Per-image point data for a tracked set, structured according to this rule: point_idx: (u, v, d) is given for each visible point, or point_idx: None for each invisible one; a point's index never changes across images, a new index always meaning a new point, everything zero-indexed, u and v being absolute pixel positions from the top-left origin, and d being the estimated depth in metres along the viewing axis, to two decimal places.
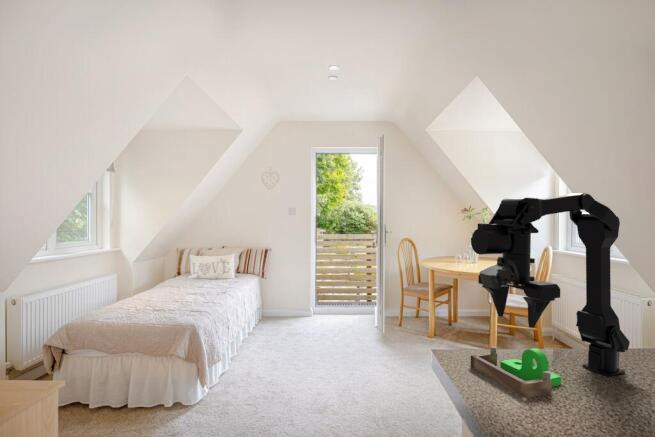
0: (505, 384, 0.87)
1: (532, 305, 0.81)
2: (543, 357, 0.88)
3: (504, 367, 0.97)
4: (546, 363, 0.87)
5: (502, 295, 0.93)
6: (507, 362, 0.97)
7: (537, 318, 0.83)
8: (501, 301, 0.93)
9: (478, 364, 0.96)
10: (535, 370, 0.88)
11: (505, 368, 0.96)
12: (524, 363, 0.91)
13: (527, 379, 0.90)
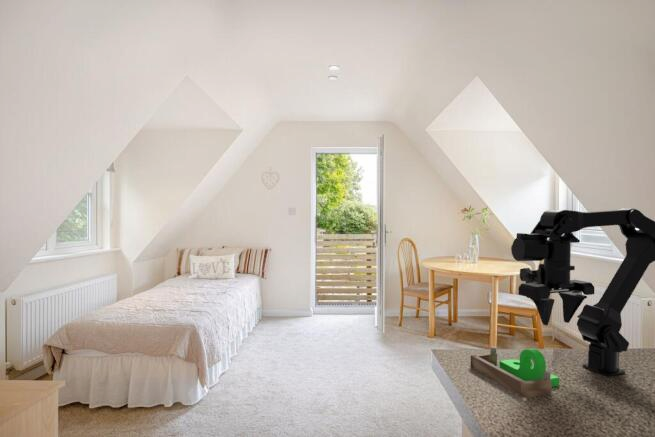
0: (505, 384, 0.87)
1: None
2: (540, 357, 0.88)
3: (503, 367, 0.97)
4: (543, 363, 0.87)
5: (570, 303, 0.96)
6: (506, 362, 0.97)
7: (545, 317, 0.94)
8: (567, 308, 0.97)
9: (478, 364, 0.96)
10: (532, 370, 0.88)
11: (504, 368, 0.97)
12: (522, 363, 0.91)
13: (525, 379, 0.90)
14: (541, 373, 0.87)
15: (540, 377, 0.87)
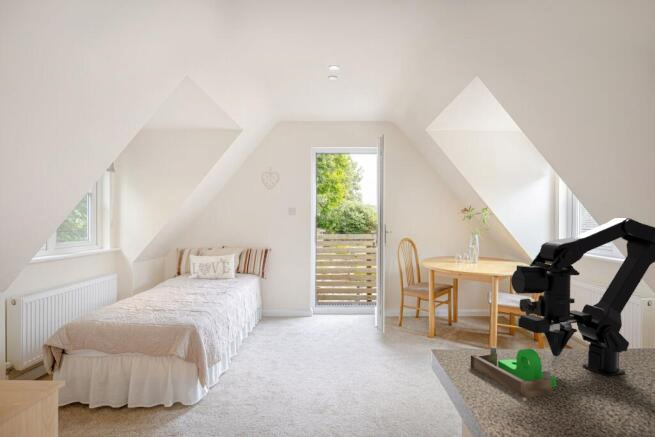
0: (505, 384, 0.87)
1: None
2: (536, 357, 0.87)
3: (501, 366, 0.97)
4: (539, 364, 0.87)
5: None
6: (505, 362, 0.97)
7: (555, 348, 0.95)
8: None
9: (478, 364, 0.96)
10: (528, 370, 0.88)
11: (502, 368, 0.97)
12: (518, 363, 0.91)
13: None
14: (536, 373, 0.87)
15: (535, 377, 0.87)
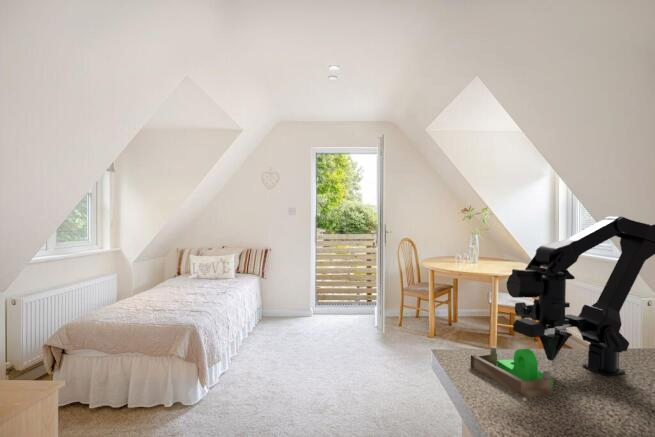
0: (505, 384, 0.87)
1: None
2: (532, 357, 0.87)
3: (500, 366, 0.97)
4: (535, 364, 0.87)
5: None
6: (503, 362, 0.97)
7: (550, 352, 0.95)
8: None
9: (478, 364, 0.96)
10: (524, 370, 0.88)
11: (501, 367, 0.97)
12: (515, 363, 0.91)
13: None
14: (532, 373, 0.87)
15: (531, 377, 0.87)
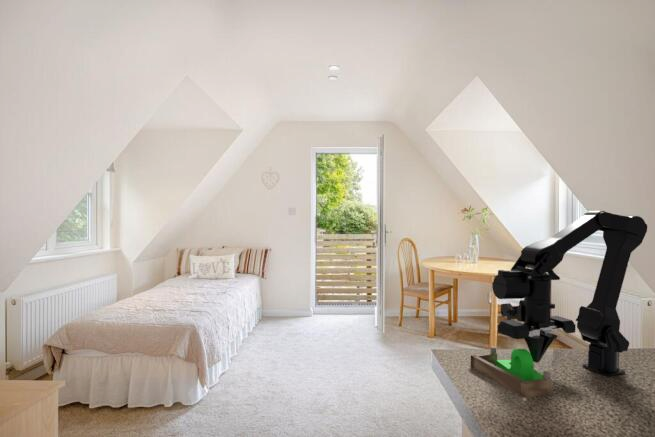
0: (505, 384, 0.87)
1: None
2: (528, 357, 0.87)
3: (498, 366, 0.97)
4: (531, 364, 0.87)
5: None
6: (502, 362, 0.97)
7: (535, 354, 0.93)
8: None
9: (478, 364, 0.96)
10: (520, 370, 0.88)
11: (499, 367, 0.97)
12: (512, 363, 0.91)
13: None
14: (528, 373, 0.87)
15: (527, 377, 0.87)
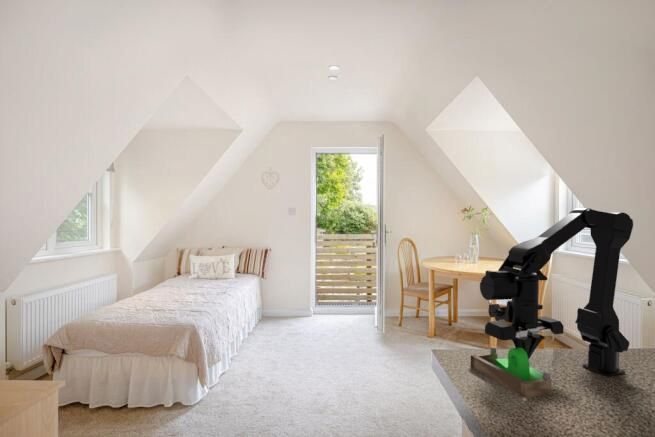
0: (505, 384, 0.87)
1: None
2: (524, 356, 0.87)
3: (497, 365, 0.97)
4: (526, 363, 0.87)
5: None
6: (501, 360, 0.98)
7: None
8: None
9: (478, 364, 0.96)
10: (516, 369, 0.88)
11: (498, 366, 0.97)
12: (509, 362, 0.92)
13: None
14: (524, 372, 0.87)
15: (523, 376, 0.87)
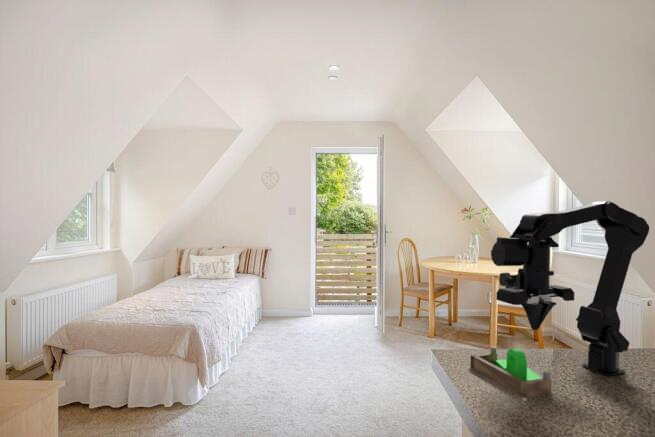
0: (505, 384, 0.87)
1: None
2: (521, 357, 0.87)
3: None
4: (524, 364, 0.87)
5: None
6: (500, 361, 0.98)
7: (534, 322, 0.93)
8: None
9: (478, 364, 0.96)
10: (514, 369, 0.89)
11: None
12: (507, 363, 0.92)
13: None
14: (521, 373, 0.87)
15: (520, 377, 0.87)
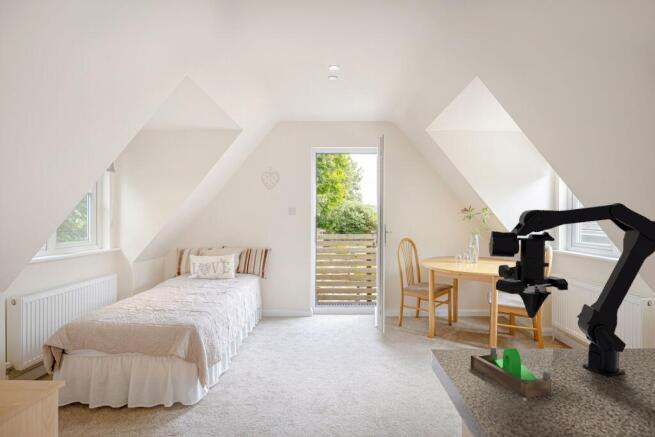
0: (505, 384, 0.87)
1: None
2: (516, 357, 0.88)
3: (495, 365, 0.98)
4: (518, 363, 0.87)
5: None
6: (499, 361, 0.98)
7: (530, 310, 1.00)
8: None
9: (478, 364, 0.96)
10: (508, 369, 0.89)
11: None
12: (504, 362, 0.92)
13: None
14: (515, 372, 0.87)
15: None
